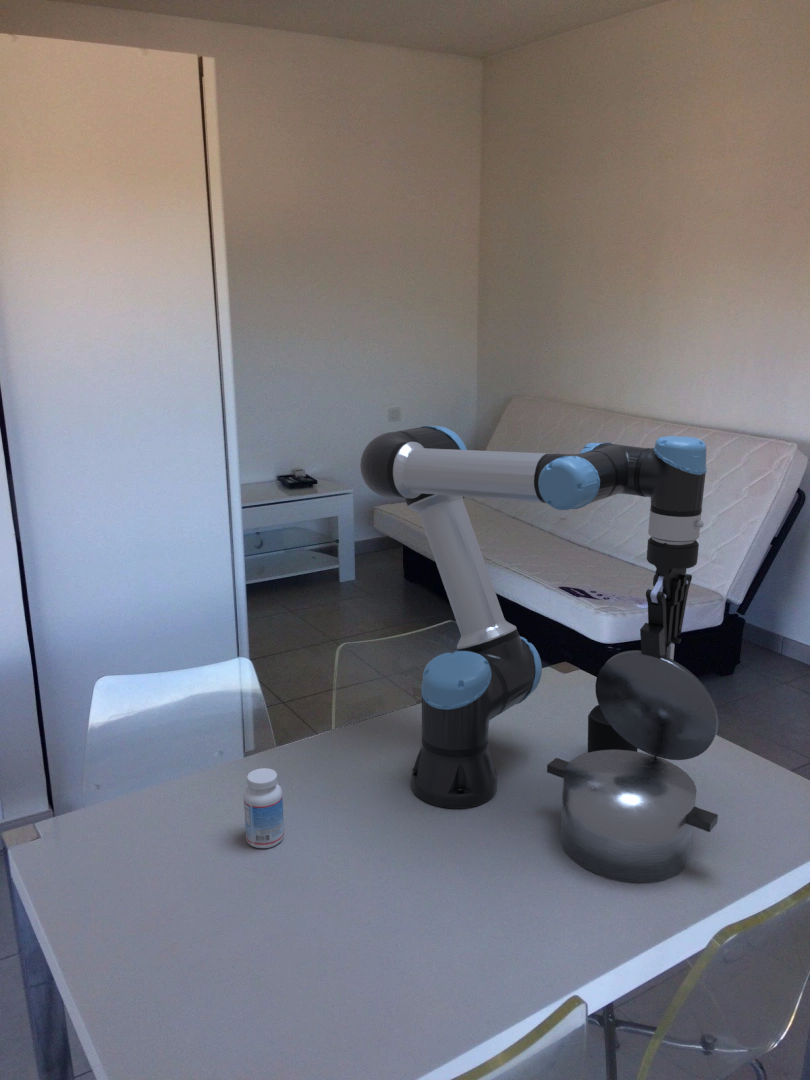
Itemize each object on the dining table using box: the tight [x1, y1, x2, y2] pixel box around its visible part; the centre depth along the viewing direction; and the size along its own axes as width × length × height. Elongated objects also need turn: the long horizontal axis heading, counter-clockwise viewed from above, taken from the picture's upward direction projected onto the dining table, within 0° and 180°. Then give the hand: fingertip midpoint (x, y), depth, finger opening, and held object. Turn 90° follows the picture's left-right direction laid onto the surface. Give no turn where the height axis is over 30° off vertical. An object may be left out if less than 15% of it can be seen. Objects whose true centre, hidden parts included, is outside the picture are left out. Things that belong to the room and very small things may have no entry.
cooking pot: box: [546, 750, 719, 884], centre depth 138 cm, size 27×20×11 cm
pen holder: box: [587, 704, 639, 753], centre depth 162 cm, size 9×9×10 cm
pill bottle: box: [243, 767, 285, 849], centre depth 139 cm, size 6×6×11 cm
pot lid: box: [594, 622, 719, 761], centre depth 139 cm, size 20×24×3 cm
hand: (661, 681), depth 140 cm, fingers closed
